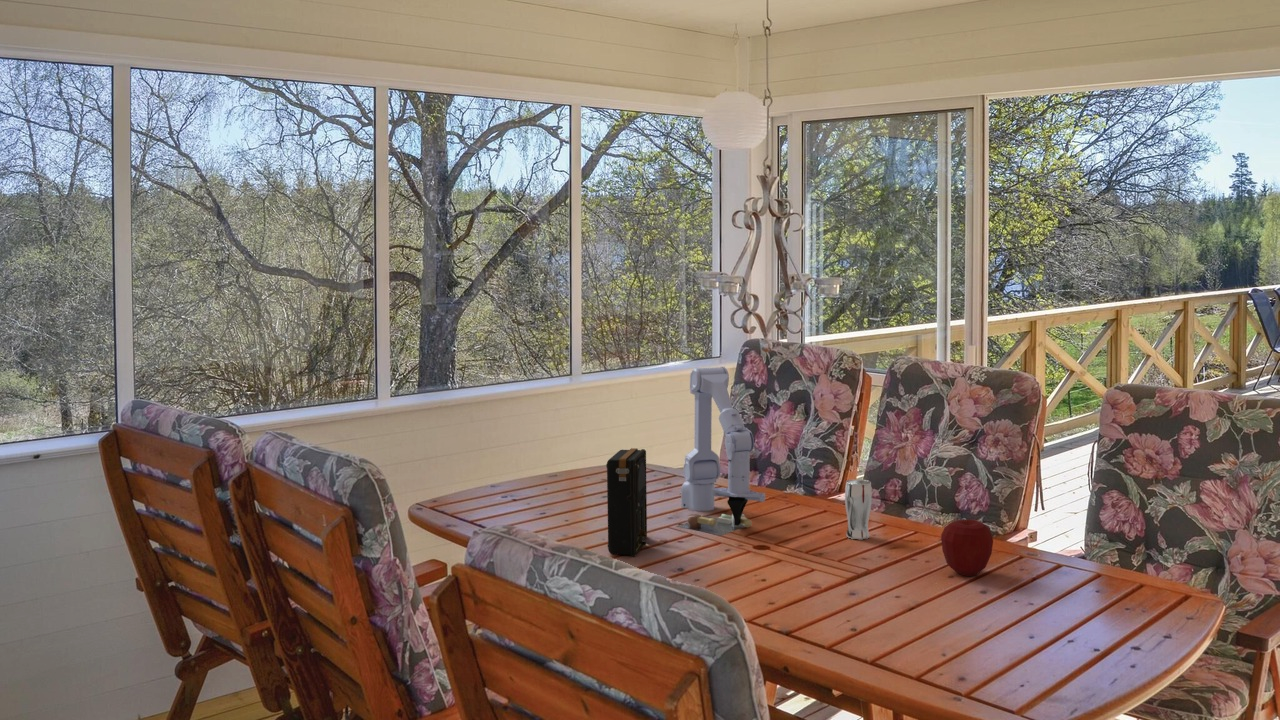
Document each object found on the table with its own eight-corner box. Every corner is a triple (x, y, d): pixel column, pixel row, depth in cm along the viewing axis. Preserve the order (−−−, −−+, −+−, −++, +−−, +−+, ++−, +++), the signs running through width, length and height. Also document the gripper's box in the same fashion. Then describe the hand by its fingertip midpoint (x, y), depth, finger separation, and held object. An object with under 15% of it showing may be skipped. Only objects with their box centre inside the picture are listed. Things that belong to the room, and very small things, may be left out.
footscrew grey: (729, 524, 282) (729, 513, 282) (741, 523, 283) (741, 511, 283) (743, 532, 274) (743, 520, 273) (755, 531, 275) (755, 519, 274)
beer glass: (841, 538, 271) (841, 483, 270) (848, 532, 277) (849, 478, 276) (867, 541, 268) (867, 485, 267) (874, 535, 274) (874, 480, 273)
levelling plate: (676, 530, 281) (676, 526, 281) (706, 520, 292) (706, 516, 292) (720, 540, 271) (720, 535, 271) (750, 529, 282) (750, 524, 282)
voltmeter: (639, 557, 256) (637, 459, 254) (605, 556, 258) (604, 458, 255) (650, 540, 271) (649, 448, 269) (619, 539, 273) (617, 447, 271)
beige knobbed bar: (685, 526, 280) (685, 515, 280) (693, 524, 283) (693, 512, 283) (711, 532, 275) (711, 520, 274) (719, 529, 277) (719, 517, 277)
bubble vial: (717, 521, 285) (717, 514, 285) (722, 520, 287) (722, 512, 287) (729, 524, 283) (729, 516, 283) (734, 522, 285) (734, 514, 284)
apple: (952, 562, 249) (953, 509, 248) (999, 571, 242) (1001, 516, 241) (932, 574, 240) (933, 519, 239) (980, 584, 233) (982, 527, 231)
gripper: (708, 475, 275) (707, 524, 276) (759, 481, 269) (758, 531, 270) (717, 470, 281) (717, 518, 283) (768, 475, 275) (767, 525, 276)
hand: (738, 524), depth 277 cm, fingers closed, pressing on footscrew grey
